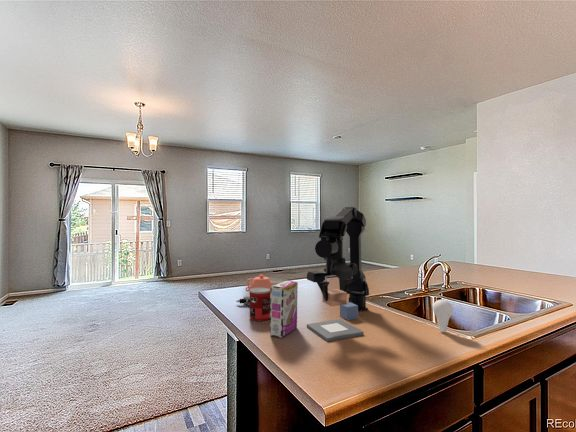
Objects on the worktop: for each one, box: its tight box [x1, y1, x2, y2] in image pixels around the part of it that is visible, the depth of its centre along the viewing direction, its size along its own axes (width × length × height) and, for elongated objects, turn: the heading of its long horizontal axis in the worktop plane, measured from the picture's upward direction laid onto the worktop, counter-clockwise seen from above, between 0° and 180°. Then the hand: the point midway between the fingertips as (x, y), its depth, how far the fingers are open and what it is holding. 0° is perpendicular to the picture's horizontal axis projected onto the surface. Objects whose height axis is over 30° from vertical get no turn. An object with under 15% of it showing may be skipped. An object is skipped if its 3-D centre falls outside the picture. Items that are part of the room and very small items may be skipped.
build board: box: [306, 318, 364, 342], centre depth 107 cm, size 14×14×1 cm
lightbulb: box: [432, 299, 454, 333], centre depth 105 cm, size 6×6×11 cm
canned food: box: [249, 288, 271, 322], centre depth 120 cm, size 8×8×11 cm
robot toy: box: [236, 294, 271, 306], centre depth 137 cm, size 12×4×15 cm
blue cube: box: [339, 301, 359, 321], centre depth 121 cm, size 5×5×5 cm
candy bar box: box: [269, 280, 299, 339], centre depth 106 cm, size 11×5×16 cm, turn 152°
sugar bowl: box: [245, 274, 273, 295], centre depth 155 cm, size 12×14×10 cm
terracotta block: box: [322, 288, 348, 307], centre depth 107 cm, size 6×6×4 cm
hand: (334, 299), depth 107 cm, fingers closed on terracotta block, 6 cm apart
